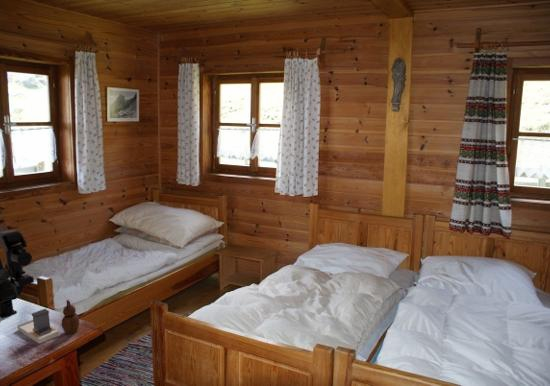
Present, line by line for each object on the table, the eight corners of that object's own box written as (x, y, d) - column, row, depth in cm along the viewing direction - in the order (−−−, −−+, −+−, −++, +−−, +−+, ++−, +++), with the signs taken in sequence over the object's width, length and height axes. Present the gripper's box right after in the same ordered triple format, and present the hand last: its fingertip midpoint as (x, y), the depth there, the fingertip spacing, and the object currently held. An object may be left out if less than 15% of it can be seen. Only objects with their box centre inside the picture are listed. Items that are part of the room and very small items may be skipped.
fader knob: (32, 331, 190) (30, 312, 188) (45, 326, 194) (43, 307, 192) (39, 335, 186) (37, 316, 185) (52, 330, 191) (50, 311, 189)
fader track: (18, 330, 195) (17, 325, 195) (37, 322, 202) (36, 318, 201) (39, 343, 185) (38, 338, 184) (58, 335, 191) (58, 330, 190)
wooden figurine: (72, 336, 190) (69, 302, 187) (60, 334, 192) (56, 300, 188) (82, 328, 197) (79, 295, 194) (70, 326, 198) (67, 294, 195)
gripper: (-17, 261, 195) (-12, 296, 198) (3, 271, 184) (8, 307, 187) (11, 254, 203) (15, 287, 207) (32, 263, 192) (36, 298, 196)
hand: (18, 295), depth 199 cm, fingers closed
